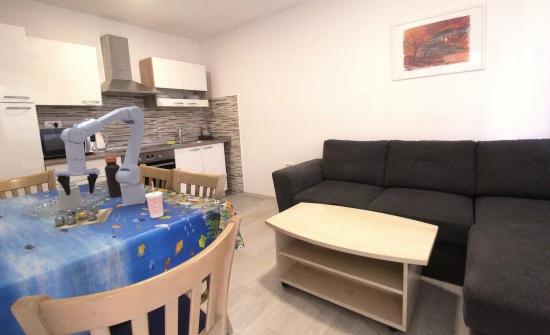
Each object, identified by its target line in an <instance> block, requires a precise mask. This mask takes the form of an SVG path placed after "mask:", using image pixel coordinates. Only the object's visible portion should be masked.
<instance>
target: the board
mask: <svg viewBox="0 0 550 335" xmlns="http://www.w3.org/2000/svg"><path fill="white" fill-rule="evenodd" d="M113 209H114V207H109V208H103V209H102V208H101V209H99V213H97V214H96V216H97V220H95V221H90V222H89V221H88V219H84V220H77V219H76V221H77V223H76V224H74V225H67V223H66V225H64V226H61V227H56V226H55V228H54V229H53V231H55V230H61V229H66V228H75V227H79V226H85V225H91V224H97V223H103V222H107V219H108V218H109V216H110V215H111V213H112V211H113ZM89 212H90V210H89ZM65 222H66V219H65Z"/></svg>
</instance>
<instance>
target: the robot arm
mask: <svg viewBox="0 0 550 335" xmlns="http://www.w3.org/2000/svg"><path fill="white" fill-rule="evenodd" d="M144 117H145V114H144V112H143V111H142V109H141V108H140V107H139V106H134V105H133V106H127V107H126V106H125V107H120V108H116V109H114V110H112V111H110V112H108V113H107V114H105V115H103V116H101V117H98V118H97V119H96V118H89V117H87V118H85V119H84V121H82V122H80V123H78V124H77V123H75V124H73V125H72V127H68V128H65V129H63V130H62V131H61V134H60V135H59V136H60V139H61V141H63V142H64V148H65V149H64V150H65V156H66V165H67V170H62V171H59V170H58V171H54V172H53V177H54V178H56V181H57V182H58V183H59V185H61V186H62V187H63V189H64V191H65V193H66V195H67V196H68V195H70V194H71V190H70V183H71V182H70V181H71V179H70V178H71V177H76V176H77V177H78V176H79V177H80V176H82V177H83V176H86V178H87V183H88V188H89V194H90V195H91V194H94V193H95V192H94V190H95V186H96V182H97V180H98V178H99V175H101V169H100V168H99V169H97V168H96V169H87V163H86V161H87V160H86V153H85V145H84V142H85V141H86V140H87V138H89V137H92V136H94V135H95V134H97V133H99V132H101V131H102V129H103V127H104V126H107V125H109V124H110V123H113V122H115V121H119V120H121V121H122V122H123V123H124V124H125V125H126V126H128V128H129V129H130V133H129V137H128V143H127V147H126V150H125V156H124V161H123V163H122V164H121V165H119V166H120V168H119V171H118V172H117V173H116V180H117V181H118V182H119V183H120V187H121V193H122V196H121V198H122V204H121V207H124V206H130V205H132V206H133V205H138V204H140V205H141V204H145V203H146V201H147V198H146V196H145V195H146V191H145V185H144V183H143V182H141V183H140V181H141V168H140V166H139V164H138V162H139V158H140V153H141V148H142V144H143V140H144V139H143V138H144V134H145V130H146V129H145V128H146V126H145V121H144Z"/></svg>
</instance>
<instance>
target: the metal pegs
mask: <svg viewBox="0 0 550 335" xmlns="http://www.w3.org/2000/svg"><path fill="white" fill-rule="evenodd" d="M83 208H84V207H77V208H74V209H67V210H64V211H63V212H64V215H62V216H56V217H54V218H53V221H54V224H55V228H56V227H61V226H64V225H66V223H67V225H74V224H76V223H77V221H76V215H75V213H77V212H79V211H83V210H84V209H83ZM88 209H89V211H90V212H88V213H86V215H87V219H88V221H89V222H90V221H95V220H97V216H96V214H97V213H99V210H100V209H99V205H98V204H94V205H90V206H89V208H88ZM65 219H66V222H65Z"/></svg>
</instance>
